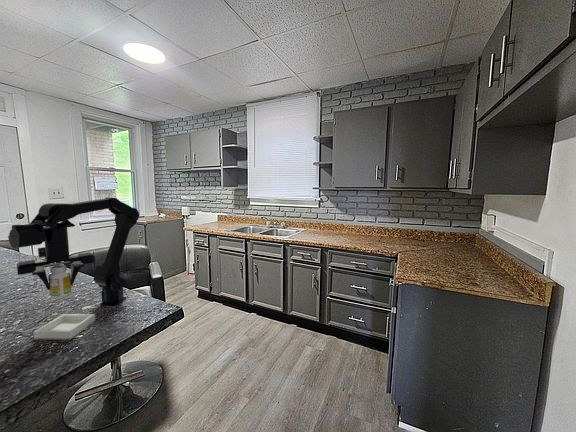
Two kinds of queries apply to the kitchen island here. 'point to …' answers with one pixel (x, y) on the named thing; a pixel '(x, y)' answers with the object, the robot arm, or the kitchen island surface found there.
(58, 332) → the tray
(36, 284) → the kitchen island surface
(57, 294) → the supplement bottle
